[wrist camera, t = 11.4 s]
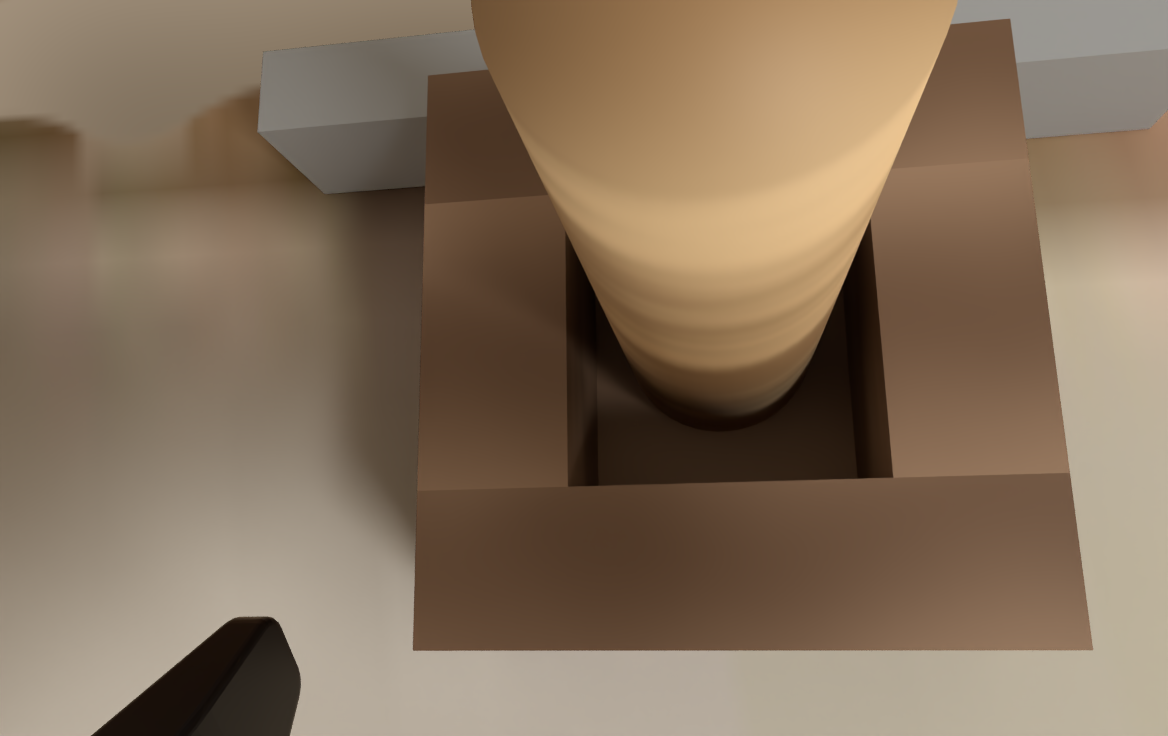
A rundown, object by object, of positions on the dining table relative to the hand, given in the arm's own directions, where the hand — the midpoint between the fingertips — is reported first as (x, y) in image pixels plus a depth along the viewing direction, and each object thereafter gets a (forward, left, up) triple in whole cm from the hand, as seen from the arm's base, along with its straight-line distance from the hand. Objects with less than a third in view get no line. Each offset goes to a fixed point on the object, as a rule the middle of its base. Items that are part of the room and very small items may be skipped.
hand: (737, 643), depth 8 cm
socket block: (+3, -4, -12) cm, 13 cm away
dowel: (+3, -5, -11) cm, 12 cm away
